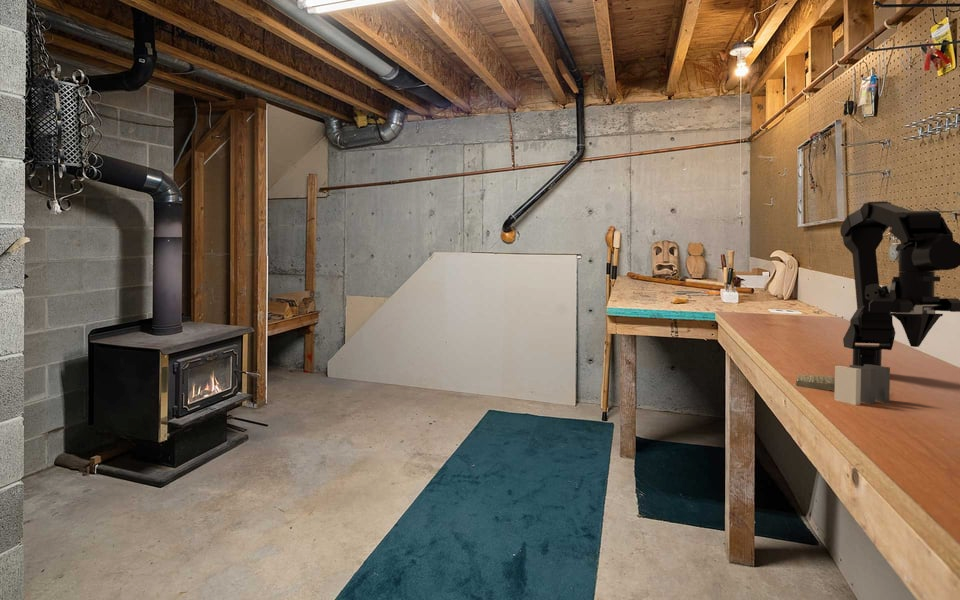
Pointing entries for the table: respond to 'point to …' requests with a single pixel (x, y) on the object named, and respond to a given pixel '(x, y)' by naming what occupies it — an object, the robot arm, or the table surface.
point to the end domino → (847, 385)
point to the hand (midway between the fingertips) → (914, 346)
